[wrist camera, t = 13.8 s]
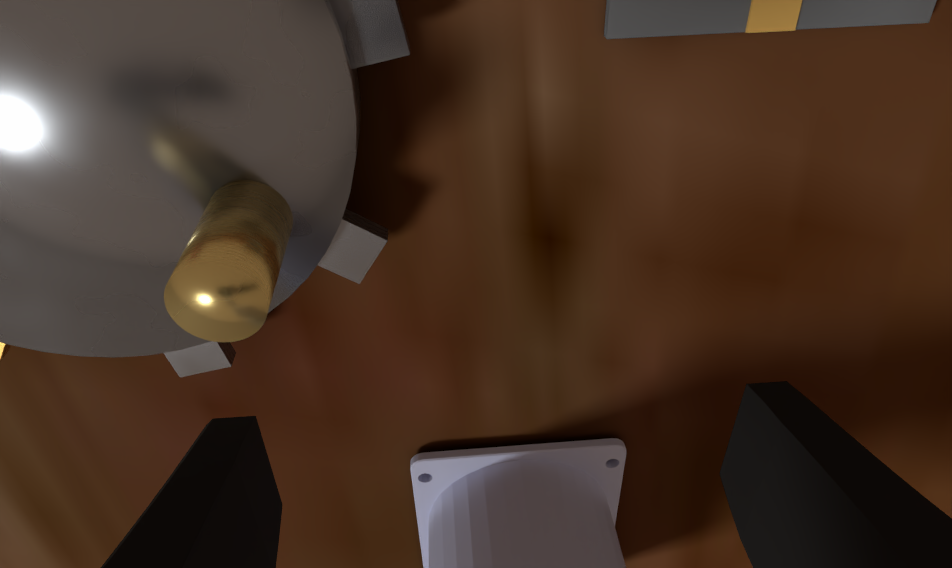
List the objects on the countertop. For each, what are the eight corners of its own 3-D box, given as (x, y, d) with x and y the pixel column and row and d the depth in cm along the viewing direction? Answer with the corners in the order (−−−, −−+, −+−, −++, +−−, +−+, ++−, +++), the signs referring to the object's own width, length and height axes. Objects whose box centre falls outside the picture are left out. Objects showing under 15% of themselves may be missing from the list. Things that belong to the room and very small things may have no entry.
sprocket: (550, -32, 15) (600, 31, 11) (259, 422, 23) (224, 558, 19) (-455, -757, 9) (-1190, -1226, 5) (-387, 201, 16) (-648, 332, 12)
